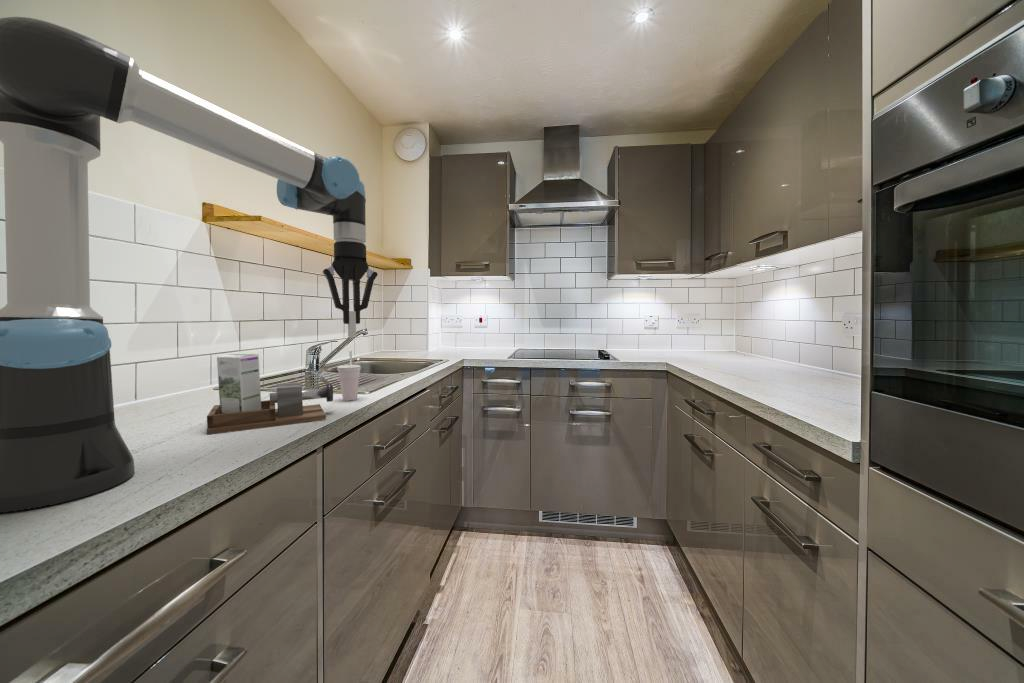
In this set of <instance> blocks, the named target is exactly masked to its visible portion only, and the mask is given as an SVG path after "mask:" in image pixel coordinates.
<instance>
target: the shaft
mask: <svg viewBox="0 0 1024 683" xmlns="http://www.w3.org/2000/svg"><path fill="white" fill-rule="evenodd" d="M318 399H325V400H326V402H328V403H329V402H333V401H334V389H333V384H332V383H326V384H325V387H323V388H322V387H321V388H313V389H312V388H311V389H302V401H307V400H308V401H309V400H318ZM269 400H270V403H275V404H277V391H275V392H270V393H269Z"/></svg>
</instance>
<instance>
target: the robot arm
mask: <svg viewBox="0 0 1024 683" xmlns="http://www.w3.org/2000/svg"><path fill="white" fill-rule="evenodd" d="M101 118H104V119H107V120H110V121H112V122H115V123H117V124H123V123H127V122H133V123H136V124H137V125H140V126H143V127H146V128H147V129H151V130H152V131H156V132H158V133H161V134H163V135H166V136H169V137H171V138H174V139H176V140H179V141H181V142H183V143H186V144H188V145H191V146H193V147H195V148H196V147H197V148H199V149H201V150H204V151H206V152H209V153H211V154H213V155H217V156H219V157H222V158H224V159H227V160H229V161H232V162H235V163H237V164H239V165H242V166H245V167H247V168H249V169H252V170H254V171H257V172H260V173H262V174H265V175H267V176H270V177H272V178H275V179H277V181H276V197H277V200H278V201H279V203H280V204H281V205H283V206H284V207H287V208H291V209H294V210H297V211H298V210H300V211H306V212H312V213H317V214H321V215H327V216H332V223H333V240H334V241H335V242H334V243H333V262H332V263H331V266H329V267H327V268H324V269H323V270H322V274H323V276H324V277H325V279H326V280H327V283H328V287H329V290H330V293H331V297H332V301H333V305H334V308H335V309H338V310H341V311H342V315H343V316H342V319H343V320H342V322H343V324H344V325H346V324H347V337H348V338H357V325H360V323H361V311H362V310H365V309H367V308H368V306H369V302H370V299H371V294H372V290H373V287H374V286H373V285H374V281H375V279H376V278H377V276H378V272H377V271H373V270H372V269H371V268H370V267H369V264H368V262H367V246H366V244H365V243H366V242H367V234H366V233H367V232H366V231H367V228H366V222H367V221H366V202H367V199H366V191H365V185H364V183H363V181H361V180H360V174H359V170H358V169H357V168H356V166H355V165H354V163H352V162H351V161H350V159H348V158H346V157H343V156H340V155H339V156H337V155H335V156H329V157H325V156H323V155H320V154H318V153H316V152H313V151H312V150H310V149H308V148H306V147H303V146H301V145H300V144H297V143H295V142H293V141H291V140H288V139H286V138H284V136H283V137H282V136H280V135H278V134H276V133H274V132H271V131H269V130H268V129H266V128H263V127H261V126H259V125H257V124H255V123H253V122H251V121H249V120H247V119H245V118H242V117H240V116H238V115H237V114H234V113H232V112H230V111H228V110H226V109H223V108H221V107H220V106H218V105H215V104H213V103H211V102H209V101H207V100H204V99H203V98H200V97H198V96H196V95H194V94H192V93H190V92H188V91H185V90H184V89H181V88H179V86H178V87H177V86H175V85H174V84H172V83H169V82H167V81H165V80H163V79H161V78H159V77H157V76H155V75H152V74H151V73H148V72H146V71H144V70H142V69H141V68H140V66H139V65H138V63H137V62H136V61H135V59H134V58H133V57H131V56H129V55H127V54H125V53H123V52H121V51H119V50H116V49H115V48H112V47H110V46H108V45H106V44H104V43H102V42H100V41H97V40H96V39H93V38H91V37H88V36H87V35H84V34H81V33H79V32H77V31H75V30H73V29H72V30H71V29H69V28H67V27H65V26H61V25H57V24H55V23H52V22H49V21H44V20H42V19H38V18H34V17H33V18H31V17H23V16H8V17H1V18H0V142H1V143H2V144H3V178H4V181H3V182H4V187H3V188H4V217H5V219H4V221H5V222H4V224H5V227H4V228H5V261H6V264H5V265H6V266H5V268H6V271H5V272H6V304H5V305H4V306H3V307H1V308H0V512H3V513H9V512H8V511H13V512H18V511H17V510H21V511H25V510H24V509H27V510H31V509H30V508H33V509H37V508H36V507H39V508H43V507H42V506H44V507H48V506H47V505H49V506H52V505H57V504H62V503H65V502H69V501H73V500H77V499H81V498H84V497H87V496H88V497H89V496H91V495H94V494H97V493H99V492H102V491H105V490H108V489H111V488H113V487H116V486H118V485H121V484H122V483H124V482H126V481H128V480H129V479H131V478H132V477H133V476H134V474H135V459H134V456H133V454H132V453H131V450H130V449H129V447H128V445H127V443H126V442H125V440H124V439H123V437H122V436H121V433H120V432H119V430H118V428H117V425H116V422H115V421H116V419H115V407H114V405H115V404H114V392H113V377H112V376H113V375H112V364H111V360H112V359H111V348H112V339H111V338H110V335H109V331H108V330H109V329H108V328H107V327H106V326H105V325H104V317H103V316H102V315H101V314H100V313H98V312H97V311H95V310H94V309H93V308H92V307H91V299H90V298H91V294H90V293H91V290H90V289H91V288H90V287H91V286H90V282H91V281H90V280H91V279H90V233H89V232H90V230H89V227H90V226H89V220H90V219H89V175H88V174H89V172H88V171H89V170H88V168H89V167H88V164H89V163H90V162H91V161H93V160H96V159H97V158H100V156H101V145H102V144H101ZM334 271H335V272H334ZM335 273H336V274H337V275H338V277H339V278H340V279H341V290H342V293H341V294H342V300H341V299H340V295H339V291H338V289H337V284H336V280H335V277H334V275H335ZM365 275H366V278H367V280H366V283H365V288H364V292H363V296H362V299H361V279H362V278H363V277H364V276H365ZM350 281H352V296H353V301H352V302H353V310H351V311H350ZM341 301H342V302H341Z"/></svg>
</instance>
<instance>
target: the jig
mask: <svg viewBox="0 0 1024 683" xmlns="http://www.w3.org/2000/svg"><path fill="white" fill-rule="evenodd" d="M302 390H303V386H302V384H301V382H300V381H295V382H283V383H276V392H277V403H270V399H269V400H261V408H262V410H254V411H245V412H236V413H226V414H220V404H216V405H213V407H212V408H211V410H210V411H209V412H208V414H207V416H206V426H207V427H206V435H212V434H211V433H215V434H221V432H223V433H229V432H228V431H231V432H236V431H235V430H239V431H246V430H245V429H247V430H253V428H255V429H261V428H262V427H263V428H268V427H269V428H270V426H271V427H277V426H276V425H279V426H284V425H283V424H287V425H292V424H291V423H295V424H300V423H299V422H303V423H308V422H307V421H311V422H316V420H319V421H323V420H322V419H326V420H327V416H326V413H325V411H324V409H323V408H322V406H321V404H320V403H318V404H317V403H316V404H311V405H310V404H309V405H308V404H307V405H303V400H302ZM276 406H277V408H276Z"/></svg>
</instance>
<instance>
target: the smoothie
mask: <svg viewBox="0 0 1024 683" xmlns="http://www.w3.org/2000/svg"><path fill="white" fill-rule="evenodd" d="M352 352H353V351H352V350H349V364H348V365H347V364H345V365H338V366H337V368H336V371H338V377H339V382H340V383H339V384H340V389H341V396H342V401H343V400H353V399H357V400H358V391H359V383H360V382H359V381H360V372H361V370H362V367H361V365H359V364H353V357H352V356H353V354H352ZM353 401H354V400H353Z"/></svg>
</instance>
